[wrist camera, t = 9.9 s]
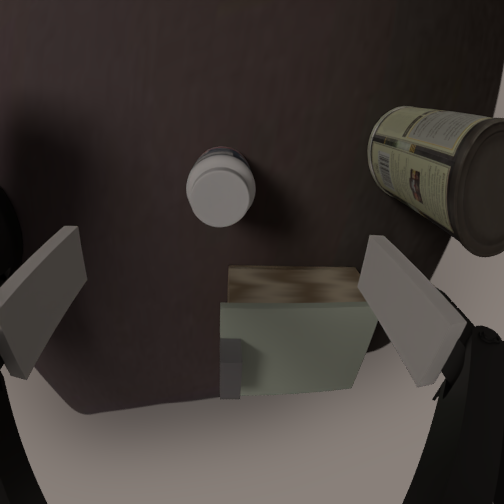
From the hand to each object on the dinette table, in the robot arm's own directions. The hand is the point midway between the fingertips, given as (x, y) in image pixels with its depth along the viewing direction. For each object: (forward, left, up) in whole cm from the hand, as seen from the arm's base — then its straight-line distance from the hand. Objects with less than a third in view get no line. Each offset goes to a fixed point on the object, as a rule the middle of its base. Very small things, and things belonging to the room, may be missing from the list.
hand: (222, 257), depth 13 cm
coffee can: (+19, +4, -17) cm, 26 cm away
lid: (+7, -15, -10) cm, 19 cm away
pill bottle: (0, 0, -17) cm, 17 cm away
